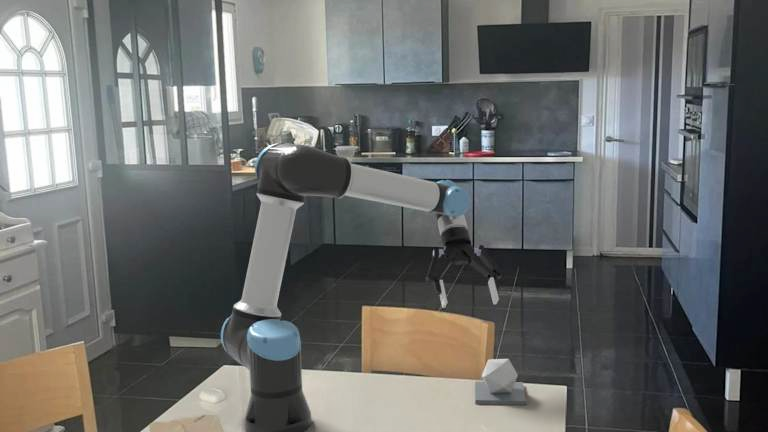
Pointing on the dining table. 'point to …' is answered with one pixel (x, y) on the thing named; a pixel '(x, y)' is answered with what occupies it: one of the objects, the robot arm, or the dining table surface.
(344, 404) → the dining table surface
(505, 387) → the die
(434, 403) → the dining table surface
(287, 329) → the robot arm
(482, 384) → the slate board
